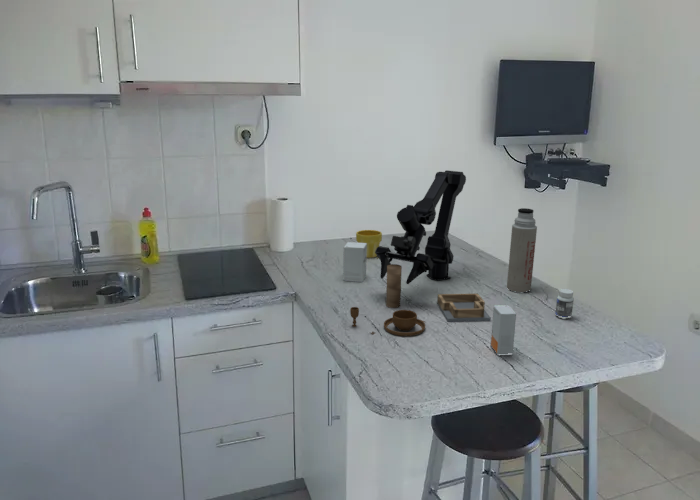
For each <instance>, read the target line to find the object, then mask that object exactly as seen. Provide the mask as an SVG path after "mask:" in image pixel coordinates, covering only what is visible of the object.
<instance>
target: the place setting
mask: <svg viewBox="0 0 700 500" xmlns="http://www.w3.org/2000/svg"><path fill="white" fill-rule="evenodd" d="M359 312H360V308H359V307H357V306H353V307H350V310H349V313H350V317H351V318H352V327H353V328H356V327H357V318H358V317H359V314H360V313H359ZM391 324H393V325H394V326H395V327H396V328H397V329H398V330H399V331H396V330H393V329H390V328H388V326H389V325H391ZM416 325H418V326H419V327H420V328H421V329H420V330H417V331H411V330H412V329H413V328H414V327H415V326H416ZM383 327H384V328H383V329H384V330H385V331H386V332H388V333H389V334H392V335H395V336H399V337H414V336H418V335H420V334H422V333H423V332H424V331H425V329H426V320H425V321H424V320H421V319H420V318H419V319H418V314H417V313H416V312H415V311H412V310H408V309H399V310H396V311H394V312H393V313H392V317H390V318H387V319H386V320H385V321H383ZM404 331H405V332H404ZM407 331H410V332H407ZM370 334H371V335H376V332H374V331H372V332H370Z"/></svg>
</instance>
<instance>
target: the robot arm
mask: <svg viewBox="0 0 700 500" xmlns="http://www.w3.org/2000/svg"><path fill="white" fill-rule="evenodd" d="M466 181H467V177H466V175H465V174H464V172H463V171H456V170H445V171H437V172H436V173H435V175H434V178H433V181H432V183H431V185H430V186H429V188H428V190H427V192H426V194H425V195H424V197H423V198H422V199H421V200H419V201H417V202H416V203H415V204H414V205H412V204H407V205H406V207H403V208H402V209H399V210H398V212H397V214H396V219H397V220H398V223H399V225H400V226H401V228H402V229H403V230H404V231H405V233H404V235H403V236H402V235H401V236H397V235H392V236H391V237H392V238H391V243H390V246H391V247H393V250H394V251H396V252H393V251H392V250H391V249H390V247H388V246H383V245H382V246H381V245H379V247H377V248H376V251H375V253H376V255H377V256H376V257H377V258H378V259H379V261H380V275H379V277H380V278H381V279H383V280H384V277H385V276H386V275H387V266H388V265H391V264H392V263H391V262H392V261H393V260H399V261H402V262H403V261H404V262H408V263H412V267H411V269H410V272H409V275H408V276H407V278H406V282H405V283H406V285H410V284H411V283H412V281H414V280H415V279H417V277H419V276H420V275H422V274H424V273H427V274H426V277H428V278H430V279H431V280H434V281H443V280H448V279H449V280H450V279H451V278H452V277H451V276H449V265H450V264H451V265H452V264H453V262H454V261H453V260H454V253H453V251H452V250H451V244H452V243H451V241H450V239H449V232H450V227H451V223H452V220H453V219H452V218H453V214H454V209H455V204H456V199H457V197H458V196H459V194H460V193H462V191H463V188H464V186H465V184H466ZM439 202H440V206H439V211H438V216H437V220H436V224H435V229H434V233H432V235H429V236H428V238H427V242H426V245H425V248H424V253H421V252H418V253H417V251H420V250H421V249H420V248H421V247H420V244H421V242H422V240H423V237H427V231H426V228H425V227H424V225H426V226H430V225H432V223H434V222H435V219H436V215H437V211H436V208H437V206H438V203H439ZM427 271H428V272H427Z"/></svg>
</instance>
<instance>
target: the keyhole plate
mask: <svg viewBox="0 0 700 500" xmlns="http://www.w3.org/2000/svg"><path fill="white" fill-rule="evenodd" d="M485 304H486V302H485V300H484V299H483V298H482V297H481V296H480V294H479V293H478V292H477V293H476V292H475V293H440V294H437V301H436V306H437V307H438V308H439V311H441V313H442V315H443V317H444V319H445V320H446V322H448V323H453V322H454V323H455V322H456V323H458V322H459V323H462V322H464V321H465V322H491V321H492V318H491V316H490V315H489V313H487V311H486V310H485V307H486V306H485ZM490 320H491V321H490Z"/></svg>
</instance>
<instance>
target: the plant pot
mask: <svg viewBox="0 0 700 500" xmlns="http://www.w3.org/2000/svg"><path fill="white" fill-rule="evenodd" d="M355 239H356V240H355V241H356V243H367V259H374V258H376V257H378V256H377V255H376V253H375V251H376V248H377V247H379V246H380V244H381V242H382V239H383V233H382V231H379V230H375V229H362V230H358V231H356V232H355Z"/></svg>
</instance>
